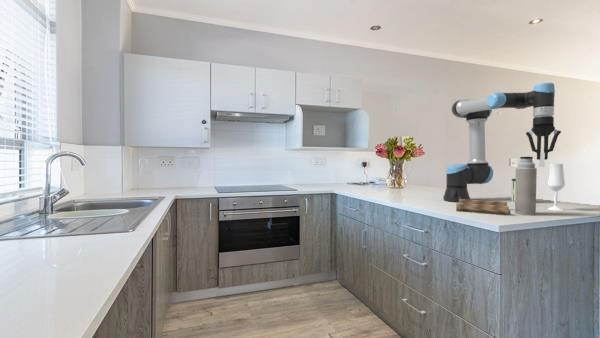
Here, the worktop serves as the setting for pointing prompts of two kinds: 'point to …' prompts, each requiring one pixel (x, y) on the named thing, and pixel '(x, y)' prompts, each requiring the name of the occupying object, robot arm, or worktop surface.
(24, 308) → the worktop surface
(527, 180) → the thermos bottle
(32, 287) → the worktop surface
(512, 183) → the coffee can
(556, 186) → the champagne flute
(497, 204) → the cradle
